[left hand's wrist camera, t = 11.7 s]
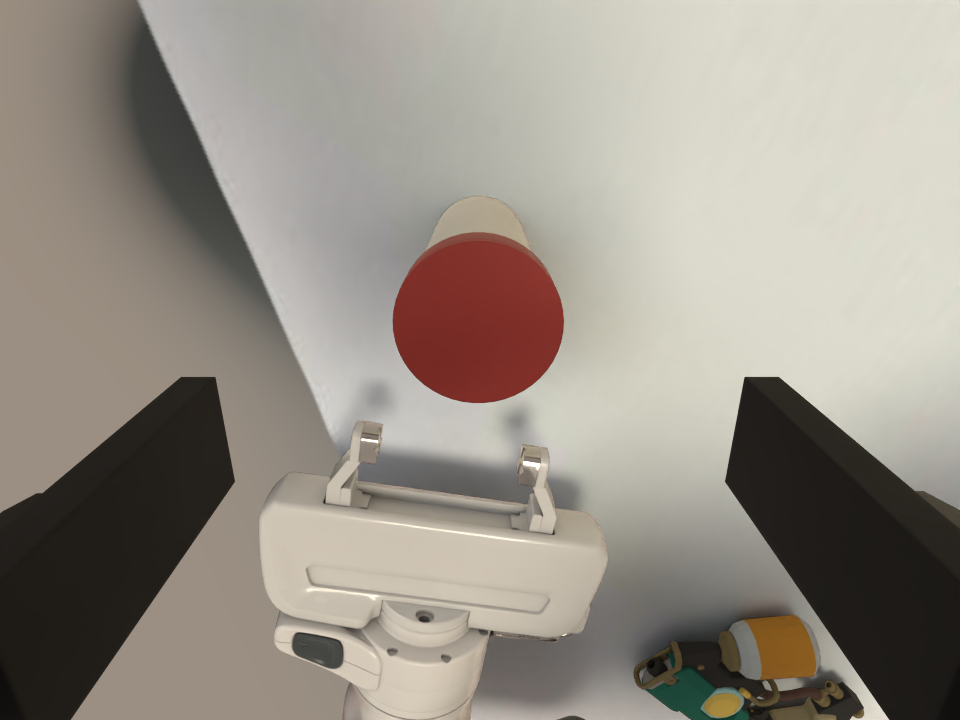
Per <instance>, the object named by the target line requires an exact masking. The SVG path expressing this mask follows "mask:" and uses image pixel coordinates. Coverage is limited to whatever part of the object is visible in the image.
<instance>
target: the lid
mask: <svg viewBox="0 0 960 720" xmlns="http://www.w3.org/2000/svg"><path fill="white" fill-rule="evenodd" d="M563 326H564V318H563V309H562V304H561V300H560V297H559V294H558V292H557V289H556V287H555V285H554V283H553V281H552V278H551V276H550V275H549V273H548V271H547V269H546V268H545V266H544V265H543V264H542V262H541V261H540V260H539V259H538V258H537V257H536V256H535V254H534V253H533V252H531V251H530V250H529V249H527V248H526V247H525V246H523V245H522V244H520V243H518V242H517V241H515V240H512V239H510V238H508V237H505V236H502V235H498V234H494V233H486V232H470V233H463V234H459V235H455V236H451V237H449V238H447V239H444V240H442V241H440V242H438V243H437V244H435V245H433V246H432V247H431V248H429V249H428V250H427V251H425V252H424V253H423V254H422V255H421V256H420V257H419V258H418V259H417V260H416V262H415V263H414V264H413V266H412V267H411V269H410V270H409V272H408V274H407V276H406V278H405V280H404V282H403V284H402V286H401V288H400V290H399V293H398V296H397V298H396V302H395V306H394V312H393V332H394V337H395V342H396V345H397V348H398V351H399V353H400V355H401V357H402V359H403V361H404V363H405V364H406V366H407V367H408V368H409V370H410V371H411V372H412V373H413V374H414V376H415V377H416V378H417V379H418V380H420V381H421V382H422V383H423V384H424V385H425V386H427V387H428V388H430V389H431V390H433V391H435V392H437V393H438V394H440V395H442V396H445V397H448V398H450V399H454V400H458V401H462V402H470V403H487V402H495V401H499V400H503V399H506V398H509V397H512V396H514V395H516V394H518V393H520V392H522V391H524V390H525V389H527V388H528V387H530V386H531V385H533V384H534V383H535V382H536V381H537V380H538V379H539V378H541V376H542V375H543V374H544V373H545V372H546V371H547V369H548V368H549V367H550V365H551V364H552V362H553V360H554V358H555V356H556V354H557V352H558V350H559V347H560V344H561V340H562V335H563Z"/></svg>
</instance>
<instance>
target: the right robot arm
mask: <svg viewBox="0 0 960 720" xmlns="http://www.w3.org/2000/svg"><path fill="white" fill-rule="evenodd" d="M382 432H383V424H379V423H373V422H367V421H360V420H357V422H356V425H355V427H354V429H353V434H352V438H351V448H350V449H349V450H348V451H347V453H346V454H345V455H344V456H343V457H342V458H341V460H340V461H339V462H338V463H337V464H336V466H335V468H334V470H333V473H332V475H331V477H328V476H321V475H313V474H307V473H300V472H291V473H288V474H287V475H285V476H284V477H283V478H282V479H281V480H280V481H279V482H278V483H276V485H275V486H274V487H273V489H272V490H271V492H270V493H269V495H268V497H267V499H266V501H265V503H264V505H263V507H262V510H261V513H260V518H259V550H260V561H261V570H262V576H263V582H264V587H265V590H266V593H267V595H268V597H269V599H270V601H271V602H272V603H273V605H274V606H275V607H276V608H278V609H279V610H280V612H279V615H278V619H277V623H276V627H275V632H274V643H275V646H276V647H277V648H278V649H279V650H280V651H282V652H284V653H286V654H288V655H291V656H293V657H296V658H299V659H302V660H304V661H307V662H310V663H312V664H315V665H317V666H319V667H322V668H324V669H326V670H329V671H331V672H333V673H335V674H337V675H339V676H341V677H342V678H344V679H346V680H348V681H349V682H350V684H349V686H348V689H347V692H346V695H345V701H344V710H343V720H470V719H471V710H472V704H471V698H472V697H473V695H474V693H475V691H476V689H477V686H478V683H479V680H480V676H481V672H482V667H483V663H484V658H485V654H486V650H487V646H488V640H489V637H490V636H491V635H492V636H494V635H495V636H499V637H507V638H529V639H531V638H532V639H537V640H538V641H541V642H548V643H554V642H558V641H559V638H560V637H568V636H571V635H574V634H578V633H580V632H581V631H582V630H583V629H584V627H585V625H586V622H587V619H588V616H589V612H590V608H591V602H592V600H593V598H594V596H595V594H596V592H597V590H598V587H599V585H600V583H601V581H602V578H603V576H604V573H605V570H606V567H607V564H608V551H607V546H606V542H605V538H604V535H603V533H602V530H601V528H600V527H599V525H598V523H597V522H596V520H595V519H594V517H593V516H592V515H591V514H589V513H586V512H580V511H573V510H565V509H558V508H555V506H554V500H553V495H552V493H551V490H550V488H549V485H548V483H547V480H546V477H547V472H548V468H549V453H548V448H545V447H538V446H531V445H524V444H522V446H521V450H520V453H521V456H520V457H519V459H518V464H517V473H518V484H520V485H526V486H532V488H533V490H534V493H531V494H530V496H529V500H528V504H522V503H515V502H508V501H501V500H493V499H486V498H479V497H472V496H465V495H457V494H450V493H443V492H436V491H429V490H421V489H414V488H407V487H400V486H392V485H385V484H378V483H371V482H364V481H358V471H359V470H358V469H357V467H358V466H359V465H360V463H361V462H362V463H370V464H376V461H377V458H378V454H379V452H380V448H381V441H382V437H381V435H382ZM558 720H585V719H583V718H580V717H577V716H567V717H564V718H561V719H558Z"/></svg>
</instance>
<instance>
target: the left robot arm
mask: <svg viewBox="0 0 960 720" xmlns="http://www.w3.org/2000/svg"><path fill="white" fill-rule="evenodd" d="M234 482H235V479H234V474H233V469H232V464H231V458H230V453H229V447H228V442H227V437H226V431H225V426H224V421H223V415H222V410H221V405H220V399H219V394H218V389H217V383H216V378H215V377H181V378H179V379H178V380H177V381H176V382H175V383H173V384H172V385H171V386H170V387H169V388H167V389H166V390H165V391H164V392H163V393H162V394H160V395H159V396H158V397H157V398H156V399H154V400H153V401H152V402H151V403H150V404H148V405H147V406H146V407H145V408H144V409H142V410H141V411H140V412H139V413H138V414H136V415H135V416H134V417H133V418H132V419H131V420H129V421H128V422H127V423H126V424H125V425H123V426H122V427H121V428H120V429H119V430H117V431H116V432H115V433H114V434H113V435H111V436H110V437H109V438H108V439H107V440H105V441H104V442H103V443H102V444H101V445H100V446H98V447H97V448H96V449H95V450H94V451H92V452H91V453H90V454H89V455H88V456H86V457H85V458H84V459H83V460H82V461H80V462H79V463H78V464H77V465H76V466H74V467H73V468H72V469H71V470H70V471H68V472H67V473H66V474H65V475H64V476H63V477H61V478H60V479H59V480H58V481H57V482H55V483H54V484H53V485H52V486H51V487H49V488H48V489H47V490H46V491H45V492H44V493H37V494H35V495H33V496H31V497H29V498H27V499H25V500H23V501H21V502H20V503H18V504H16V505H14V506H12V507H10V508H8V509H6V510H4V511H3V512H1V513H0V720H71V718H72V717H73V716H74V714H75V713H76V711H77V710H78V708H79V707H80V705H81V704H82V703H83V701H84V700H85V698H86V697H87V695H88V694H89V692H90V691H91V689H92V688H93V687H94V685H95V684H96V682H97V681H98V679H99V678H100V676H101V675H102V674H103V672H104V671H105V669H106V668H107V666H108V665H109V663H110V662H111V660H112V659H113V658H114V656H115V655H116V653H117V652H118V650H119V649H120V647H121V646H122V645H123V643H124V642H125V640H126V639H127V637H128V636H129V634H130V633H131V631H132V630H133V629H134V627H135V626H136V624H137V623H138V621H139V620H140V618H141V617H142V616H143V614H144V613H145V611H146V610H147V608H148V607H149V605H150V604H151V603H152V601H153V600H154V598H155V597H156V595H157V594H158V592H159V591H160V589H161V588H162V586H163V585H164V584H165V582H166V581H167V579H168V578H169V576H170V575H171V574H172V572H173V571H174V569H175V568H176V566H177V565H178V563H179V562H180V560H181V559H182V558H183V556H184V555H185V553H186V552H187V550H188V549H189V547H190V546H191V545H192V543H193V542H194V540H195V539H196V537H197V536H198V534H199V533H200V531H201V530H202V529H203V527H204V526H205V524H206V523H207V521H208V520H209V518H210V517H211V516H212V514H213V513H214V511H215V510H216V508H217V507H218V505H219V504H220V502H221V501H222V500H223V498H224V497H225V495H226V494H227V492H228V491H229V489H230V488H231V487H232V485H233V484H234ZM725 482H726V484H727V485H728V487H729V488H730V490H731V491H732V492H733V494H734V495H735V497H736V498H737V500H738V501H739V503H740V504H741V505H742V507H743V508H744V510H745V511H746V513H747V514H748V516H749V517H750V518H751V520H752V521H753V523H754V524H755V526H756V527H757V529H758V530H759V532H760V533H761V534H762V536H763V537H764V539H765V540H766V542H767V543H768V545H769V546H770V547H771V549H772V550H773V552H774V553H775V555H776V556H777V558H778V559H779V561H780V562H781V563H782V565H783V566H784V568H785V569H786V571H787V572H788V574H789V575H790V576H791V578H792V579H793V581H794V582H795V584H796V585H797V587H798V588H799V590H800V591H801V592H802V594H803V595H804V597H805V598H806V600H807V601H808V603H809V604H810V605H811V607H812V608H813V610H814V611H815V613H816V614H817V616H818V617H819V618H820V620H821V621H822V623H823V624H824V626H825V627H826V629H827V630H828V632H829V633H830V634H831V636H832V637H833V639H834V640H835V642H836V643H837V645H838V646H839V647H840V649H841V650H842V652H843V653H844V655H845V656H846V658H847V659H848V661H849V662H850V663H851V665H852V666H853V668H854V669H855V671H856V672H857V674H858V675H859V676H860V678H861V679H862V681H863V682H864V684H865V685H866V687H867V688H868V689H869V691H870V692H871V694H872V695H873V697H874V698H875V700H876V701H877V703H878V704H879V705H880V707H881V708H882V710H883V711H884V713H885V714H886V716H887V717H888V718H889V720H960V510H958V509H956V508H954V507H953V506H951V505H949V504H947V503H945V502H943V501H941V500H939V499H937V498H935V497H934V496H932V495H930V494H928V493H926V492H924V491H914V490H913V489H912V488H911V487H909V486H908V485H907V484H906V483H905V482H903V481H902V480H901V479H900V478H899V477H897V476H896V475H895V474H894V473H893V472H892V471H890V470H889V469H888V468H887V467H886V466H884V465H883V464H882V463H881V462H880V461H878V460H877V459H876V458H875V457H874V456H872V455H871V454H870V453H869V452H868V451H866V450H865V449H864V448H863V447H862V446H860V445H859V444H858V443H857V442H856V441H855V440H853V439H852V438H851V437H850V436H849V435H847V434H846V433H845V432H844V431H843V430H841V429H840V428H839V427H838V426H837V425H835V424H834V423H833V422H832V421H831V420H829V419H828V418H827V417H826V416H825V415H824V414H822V413H821V412H820V411H819V410H818V409H816V408H815V407H814V406H813V405H812V404H810V403H809V402H808V401H807V400H806V399H804V398H803V397H802V396H801V395H800V394H798V393H797V392H796V391H795V390H794V389H793V388H791V387H790V386H789V385H788V384H787V383H785V382H784V381H783V380H782V379H781V378H779V377H745V378H744V383H743V388H742V394H741V399H740V405H739V410H738V415H737V421H736V426H735V431H734V437H733V442H732V447H731V453H730V458H729V463H728V469H727V474H726V479H725Z"/></svg>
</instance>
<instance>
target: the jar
mask: <svg viewBox="0 0 960 720" xmlns="http://www.w3.org/2000/svg"><path fill="white" fill-rule="evenodd" d="M470 232H486V233H494V234H498V235H502V236H505V237H508V238H510V239H512V240H515V241H517V242H518V243H520V244H522V245H523V246H525V247H526V248H527V249H529V250H530V251H531V252H532V250H531V247H530V245H529V243H528V240H527V238H526V235H525V233H524V231H523V228H522V226H521V223H520V221H519V219H518V218H517V216H516V215H515V213H514V212H513V211H512V210H511V209H510V208H509V207H508V206H507V205H505V204H504V203H502V202H501V201H499V200H496V199H494V198H491V197H486V196H472V197H467V198H464V199H462V200H459V201H457V202H456V203H454V204H453V205H451V206H450V207H449V208H448V209H447V210H446V211H445V212H444V213H443V215H442V216H441V218H440V220H439V221H438V223H437V226H436V228H435V230H434V233H433V235H432V237H431V239H430V242H429V244H428V246H427V249H426V251H427V250H428V249H429V248H431V247H432V246H433V245H435V244H437V243H438V242H440V241H442V240H444V239H447V238H449V237H451V236H455V235H459V234H463V233H470Z"/></svg>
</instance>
